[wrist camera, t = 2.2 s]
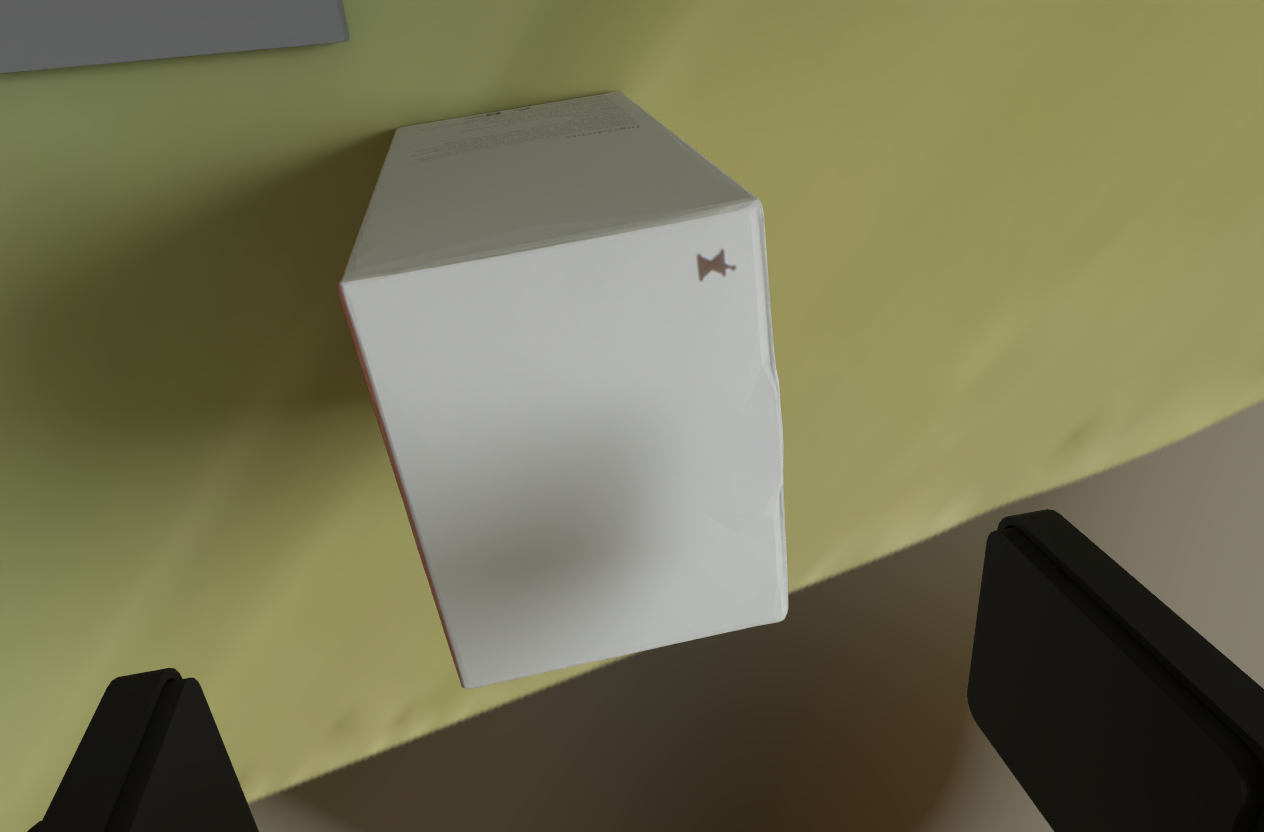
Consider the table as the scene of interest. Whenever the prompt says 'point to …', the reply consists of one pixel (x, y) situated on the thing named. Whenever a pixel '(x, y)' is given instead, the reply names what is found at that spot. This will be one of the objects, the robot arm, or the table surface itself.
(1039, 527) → the robot arm
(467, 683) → the small box
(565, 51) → the table surface
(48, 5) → the rest mat
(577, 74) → the table surface
